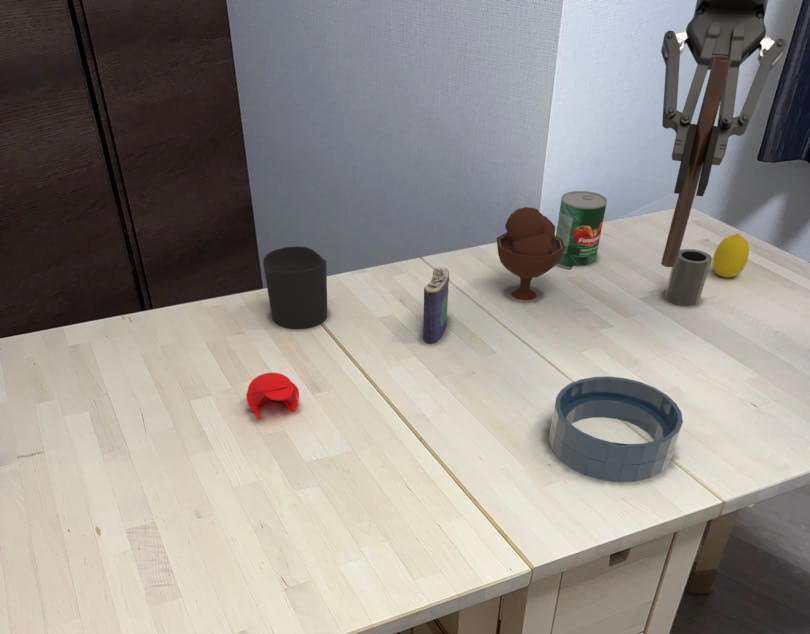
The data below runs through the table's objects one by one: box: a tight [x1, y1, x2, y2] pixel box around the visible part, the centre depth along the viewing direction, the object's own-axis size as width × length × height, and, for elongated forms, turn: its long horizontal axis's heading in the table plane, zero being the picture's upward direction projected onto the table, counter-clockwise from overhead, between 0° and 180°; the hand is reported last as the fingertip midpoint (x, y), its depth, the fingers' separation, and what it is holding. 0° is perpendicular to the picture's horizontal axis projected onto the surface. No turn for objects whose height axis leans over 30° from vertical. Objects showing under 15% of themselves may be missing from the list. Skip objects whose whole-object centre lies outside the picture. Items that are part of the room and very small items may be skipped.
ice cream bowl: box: [496, 206, 565, 302], centre depth 120 cm, size 11×11×15 cm
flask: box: [422, 266, 450, 345], centre depth 112 cm, size 9×3×11 cm, turn 166°
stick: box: [660, 57, 731, 268], centre depth 85 cm, size 2×2×22 cm
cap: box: [246, 372, 300, 421], centre depth 97 cm, size 8×6×6 cm
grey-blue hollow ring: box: [548, 376, 684, 483], centre depth 93 cm, size 15×15×6 cm
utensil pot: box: [664, 248, 713, 307], centre depth 122 cm, size 6×6×8 cm
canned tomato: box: [555, 190, 608, 270], centre depth 133 cm, size 8×8×11 cm
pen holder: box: [262, 246, 328, 330], centre depth 115 cm, size 9×9×10 cm
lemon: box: [712, 233, 750, 279], centre depth 129 cm, size 6×6×8 cm
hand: (690, 188), depth 83 cm, fingers closed on stick, 2 cm apart
